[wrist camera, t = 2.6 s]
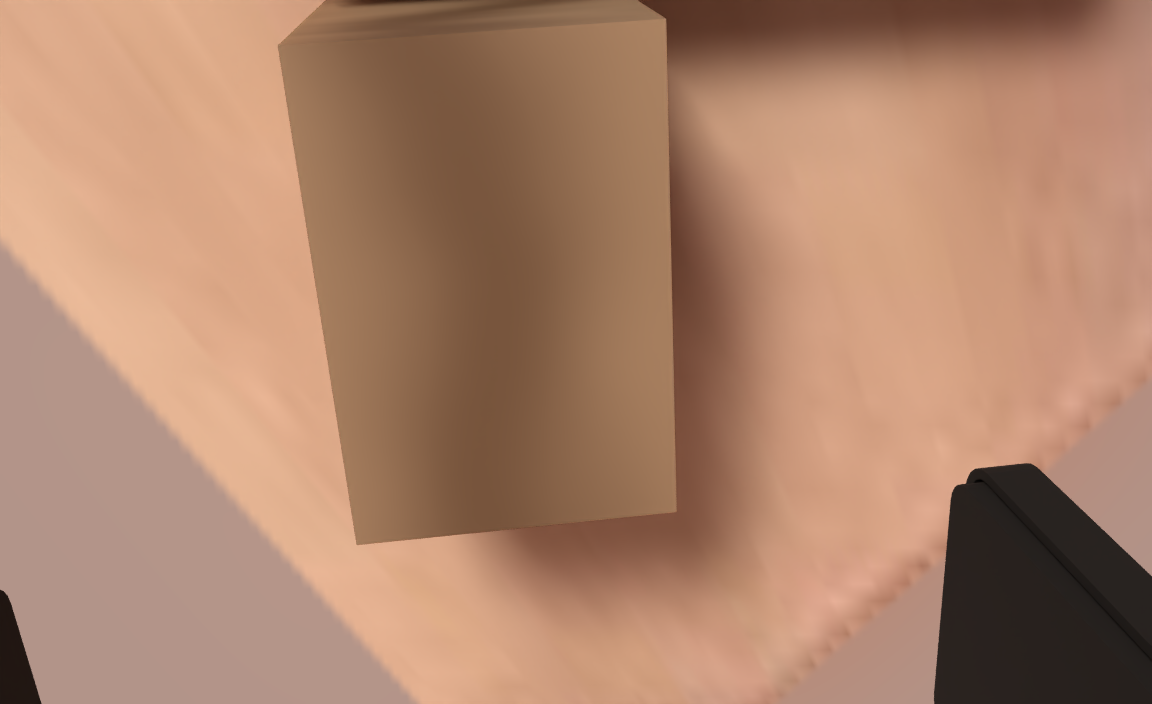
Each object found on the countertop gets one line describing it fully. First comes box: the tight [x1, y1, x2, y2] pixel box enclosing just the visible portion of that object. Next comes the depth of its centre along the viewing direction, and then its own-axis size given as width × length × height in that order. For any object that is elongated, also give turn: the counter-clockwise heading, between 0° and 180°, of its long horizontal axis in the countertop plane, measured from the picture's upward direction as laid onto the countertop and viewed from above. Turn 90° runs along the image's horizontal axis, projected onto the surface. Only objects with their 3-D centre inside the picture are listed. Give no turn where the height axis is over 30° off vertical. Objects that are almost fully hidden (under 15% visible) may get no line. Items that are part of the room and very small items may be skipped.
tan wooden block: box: [278, 0, 677, 545], centre depth 23 cm, size 6×10×8 cm, turn 3°
